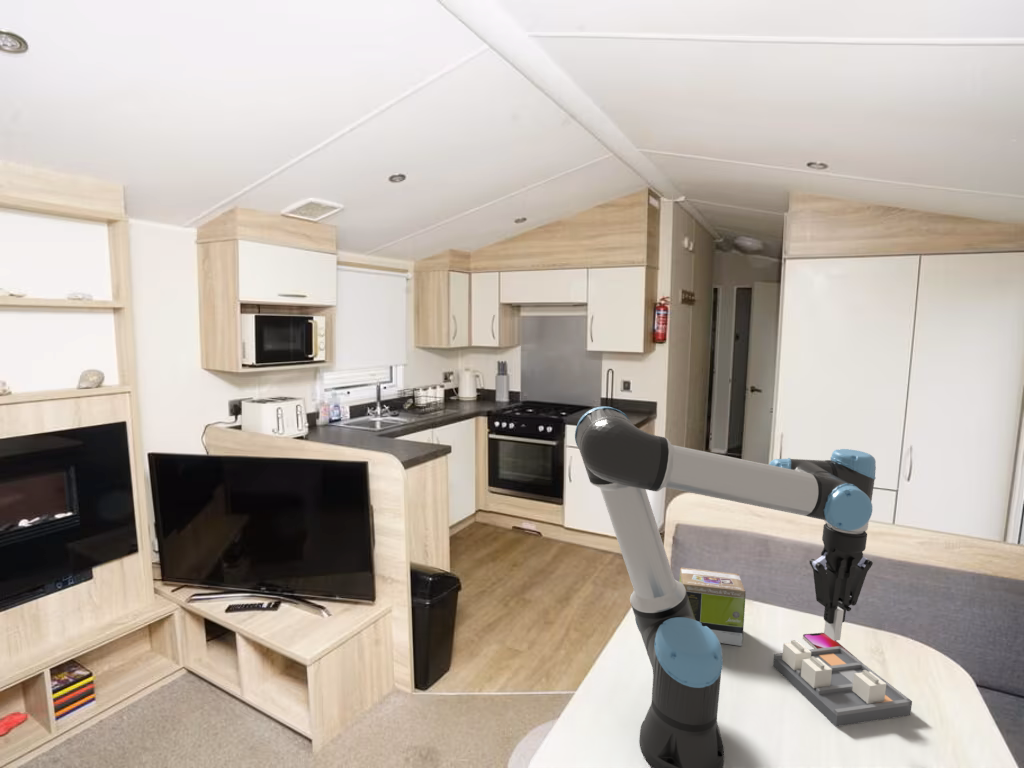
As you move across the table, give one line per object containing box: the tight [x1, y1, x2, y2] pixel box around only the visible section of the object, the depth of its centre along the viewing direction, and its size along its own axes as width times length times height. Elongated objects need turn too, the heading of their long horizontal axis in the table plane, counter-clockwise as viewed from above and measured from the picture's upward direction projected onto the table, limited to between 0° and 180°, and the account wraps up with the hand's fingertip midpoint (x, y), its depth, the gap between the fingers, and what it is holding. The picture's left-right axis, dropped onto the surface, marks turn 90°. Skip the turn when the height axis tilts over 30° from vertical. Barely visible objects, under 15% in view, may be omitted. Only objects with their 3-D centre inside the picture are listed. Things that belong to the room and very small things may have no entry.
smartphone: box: [802, 632, 862, 662], centre depth 134 cm, size 7×1×15 cm
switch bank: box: [772, 646, 913, 728], centre depth 121 cm, size 18×19×3 cm
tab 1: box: [782, 639, 811, 670], centre depth 125 cm, size 4×4×5 cm
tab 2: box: [801, 656, 832, 688], centre depth 119 cm, size 4×4×5 cm
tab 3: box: [852, 670, 886, 704], centre depth 115 cm, size 4×4×5 cm
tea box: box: [679, 567, 747, 647], centre depth 141 cm, size 15×10×15 cm, turn 77°
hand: (831, 636), depth 113 cm, fingers closed
